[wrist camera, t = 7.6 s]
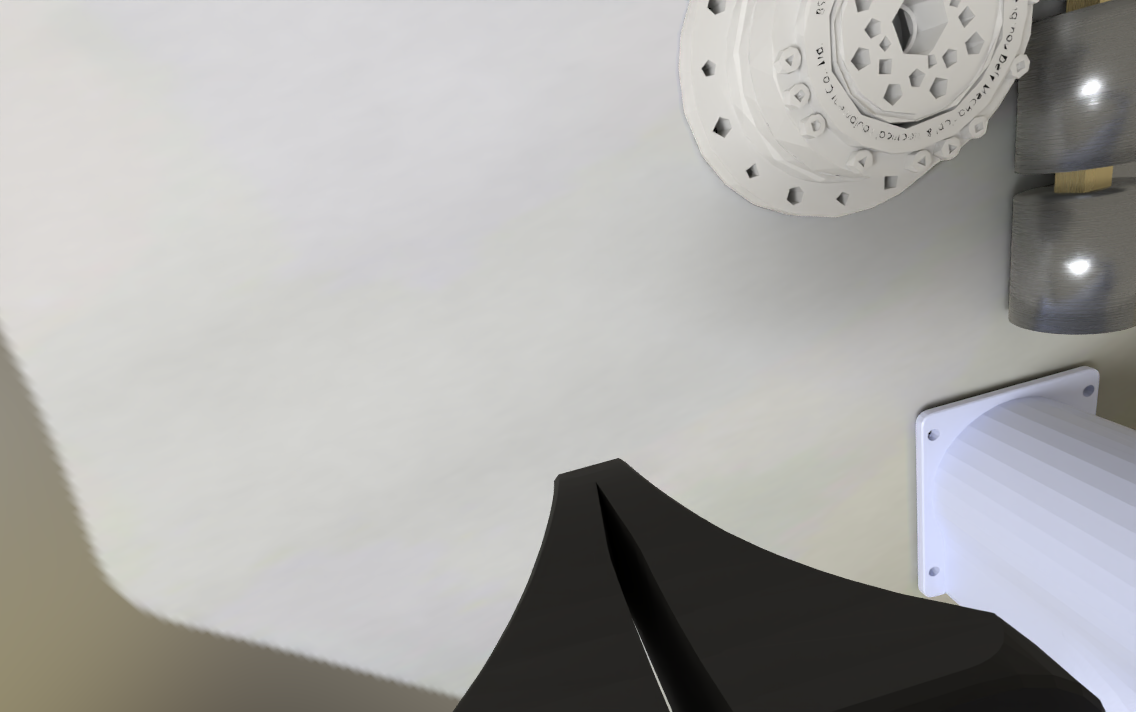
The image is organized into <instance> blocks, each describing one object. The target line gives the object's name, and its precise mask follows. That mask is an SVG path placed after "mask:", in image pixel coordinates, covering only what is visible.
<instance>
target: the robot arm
mask: <svg viewBox="0 0 1136 712" xmlns="http://www.w3.org/2000/svg"><path fill="white" fill-rule="evenodd" d="M1099 378H1100V377H1099V372H1098V370H1097V369H1094V368H1091V367H1088V366H1081V367H1078V368H1074V369H1071V370H1067V371H1064V372H1060V373H1056V374H1053V375H1049V376H1046V377H1042V378H1039V379H1035V380H1031V381H1028V382H1024V383H1021V384H1017V385H1014V386H1010V387H1006V388H1003V389H999V390H996V391H992V392H989V393H985V394H981V395H978V396H974V397H971V398H967V399H964V400H960V401H957V402H953V403H949V404H946V405H942V406H939V407H935V408H932V409H928V410H925V411H923V412H922V413H921V414H920V415H919V416H918V418H917V419H916V473H917V534H918V587H919V590H920V591H921V592H922V593H923V594H924V595H925V596H927V597H935V596H938V595H941V594H945V593H946V594H948V595H949V596H950V597H951V598H952V599H953V600H954V601H955V602H957V603H958V604H959V605H960V606H958V605H953V604H948V603H943V602H938V601H933V600H928V599H923V598H918V597H914V596H909V595H904V594H900V593H896V592H892V591H889V590H885V589H881V588H878V587H874V586H870V585H867V584H863V583H859V582H856V581H852V580H849V579H845V578H842V577H839V576H836V575H833V574H829V573H826V572H823V571H820V570H817V569H814V568H812V567H809V566H806V565H803V564H801V563H798V562H795V561H792V560H790V559H787V558H784V557H782V556H779V555H777V554H774V553H772V552H769V551H767V550H765V549H762V548H760V547H758V546H756V545H754V544H751V543H749V542H747V541H745V540H743V539H741V538H739V537H736V536H734V535H732V534H730V533H728V532H726V531H724V530H722V529H721V528H719V527H717V526H715V525H714V524H712V523H710V522H708V521H707V520H705V519H703V518H702V517H700V516H698V515H697V514H695V513H693V512H692V511H690V510H689V509H687V508H686V507H684V506H683V505H681V504H680V503H678V502H677V501H675V500H674V499H672V498H671V497H669V496H668V495H667V494H665V493H664V492H662V491H661V490H659V489H658V488H657V487H655V486H654V485H653V484H651V483H650V482H649V481H648V480H646V479H645V478H644V477H642V476H641V475H640V474H639V473H638V472H636V471H635V470H634V469H633V468H632V467H630V466H629V465H628V464H627V463H626V462H624V461H623V460H621V459H619V458H617V459H614V460H610V461H606V462H603V463H599V464H595V465H592V466H588V467H585V468H581V469H577V470H574V471H570V472H566V473H563V474H559V475H558V476H557V478H556V479H555V481H554V495H553V502H552V507H551V512H550V516H549V520H548V524H547V527H546V531H545V535H544V538H543V542H542V545H541V548H540V551H539V554H538V556H537V559H536V562H535V565H534V567H533V570H532V573H531V576H530V578H529V581H528V583H527V585H526V588H525V590H524V592H523V594H522V597H521V599H520V601H519V603H518V605H517V607H516V609H515V611H514V613H513V615H512V617H511V619H510V621H509V623H508V625H507V627H506V629H505V631H504V632H503V634H502V636H501V638H500V639H499V641H498V643H497V645H496V647H495V648H494V650H493V652H492V654H491V655H490V657H489V659H488V660H487V662H486V664H485V665H484V667H483V668H482V670H481V672H480V673H479V675H478V676H477V678H476V679H475V681H474V682H473V683H472V685H471V686H470V688H469V689H468V691H467V692H466V694H465V695H464V696H463V698H462V699H461V701H460V702H459V704H458V705H457V706H456V708H455V709H454V711H453V712H670V711H669V709H668V706H667V704H666V702H665V699H664V697H663V695H662V692H661V690H660V687H659V685H658V683H657V680H656V678H655V675H654V673H653V670H652V668H651V665H650V663H649V660H648V658H647V655H646V653H645V650H644V647H645V649H646V651H647V653H648V656H649V658H650V660H651V663H652V665H653V667H654V670H655V672H656V674H657V676H658V679H659V681H660V683H661V686H662V688H663V690H664V693H665V695H666V697H667V700H668V702H669V704H670V706H671V709H672V712H1136V430H1134V429H1131V428H1128V427H1126V426H1123V425H1120V424H1118V423H1115V422H1112V421H1110V420H1107V419H1104V418H1102V417H1099V416H1096V407H1097V397H1098V388H1099ZM931 430H932V431H931ZM930 431H931V433H930V434H929V435H928V433H929V432H930ZM633 621H634V622H633ZM634 623H635V624H634ZM635 626H636V627H635ZM636 628H637V630H638V632H637V630H636ZM638 633H639V635H640V637H641V640H642V642H643V644H644V647H643V645H642V642H641V640H640V637H639V635H638Z"/></svg>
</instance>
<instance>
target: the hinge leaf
mask: <svg viewBox="0 0 1136 712" xmlns="http://www.w3.org/2000/svg"><path fill="white" fill-rule="evenodd" d="M1024 55H1027V57H1028V59H1029V60H1030V65H1029V69H1028V72H1026V73H1025V74H1024V75H1023V76H1021V77H1020V78H1019V81H1018V104H1017V128H1016V151H1015V173H1019V174H1049V173H1055V184H1054V185H1048V186H1043V187H1039V188H1034V189H1030V190H1027V191H1024V192H1021V193H1018V194H1016V195H1015V196H1014V198H1013V221H1012V245H1011V268H1010V292H1009V315H1008V318H1009V321H1010V322H1011V323H1013V324H1014V325H1016V326H1019V327H1021V328H1025V329H1028V330H1033V331H1038V332H1045V333H1054V334H1099V333H1108V332H1115V331H1120V330H1124V329H1128V328H1131V327H1134V326H1136V0H1067V5H1066V13H1064V14H1060V15H1057V16H1053V17H1050V18H1047V19H1043V20H1040V21H1037V22H1034V23H1032V25H1031V35H1030V38H1029V41H1028V44H1027V47H1026V50H1025V53H1024Z"/></svg>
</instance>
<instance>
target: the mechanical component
mask: <svg viewBox="0 0 1136 712" xmlns="http://www.w3.org/2000/svg"><path fill="white" fill-rule="evenodd" d="M1038 1H1039V0H690V2H689V5H688V9H687V12H686V16H685V20H684V24H683V27H682V31H681V38H680V53H679V76H680V84H681V92H682V100H683V108H684V114H685V116H686V118H687V121H688V123H689V126H690V128H691V130H692V133H693V135H694V138H695V140H696V142H697V145H698V147H699V150H700V152H701V154H702V156H703V158H704V159H705V160H706V161H707V162H708V164H709V165H710V166H711V167H712V169H713V170H714V171H715V172H716V173H717V175H718V176H719V177H720V178H721V180H722V181H723V182H724V183H725V184H726V185H727V186H728V187H729V188H731V189H732V190H734V191H735V192H737V193H738V194H739V195H741V196H742V197H744V198H745V199H746V200H748V201H749V202H751V203H752V204H754V205H756V206H760V207H763V208H766V209H770V210H773V211H776V212H780V213H783V214H786V215H795V216H816V217H841V216H845V215H848V214H852V213H856V212H859V211H863V210H867V209H870V208H874V207H875V206H877V205H879V204H881V203H883V202H885V201H887V200H889V199H891V198H893V197H895V196H897V195H899V194H900V193H902V192H903V191H904V190H905V189H907V188H908V187H909V186H910V185H912V184H913V183H914V182H915V181H916V180H918V179H919V178H920V177H921V176H923V175H924V174H925V173H926V172H927V171H929V170H930V169H931V168H932V167H933V166H934V165H935V164H937V163H938V162H940V161H941V160H942V161H945V160H951V159H952V158H954V157H955V156H957V155H958V153H959V151H960V149H961V147H962V146H964V145H965V144H966V143H967V142H968V141H969V140H970V139H975V138H980V137H982V136H983V135H984V134H985V133H986V130H987V125H988V120H989V119H990V117H991V116H992V115H993V114H994V112H995V111H996V110H997V108H998V107H999V106H1000V104H1001V102H1002V101H1003V99H1004V97H1005V96H1006V94H1007V92H1008V91H1009V89H1010V87H1011V86H1012V84H1013V82H1014V81H1015V79H1018V78H1020V77H1021V76H1023V75H1024V74H1025V73H1026V72H1028V69H1029V65H1030V60H1029V59H1028V57H1027V55H1024V53H1025V50H1026V47H1027V44H1028V41H1029V38H1030V35H1031V25H1032V12H1033V4H1035V3H1037V2H1038ZM707 7H709V8H712V11H710V10H709V9H708V8H707ZM714 127H716V128H717V130H718V133H715V132H713V129H714Z"/></svg>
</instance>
